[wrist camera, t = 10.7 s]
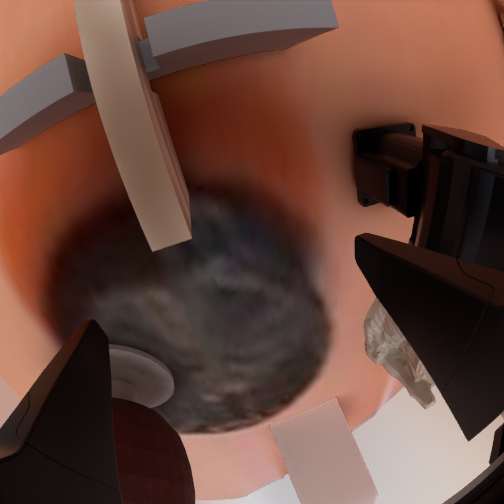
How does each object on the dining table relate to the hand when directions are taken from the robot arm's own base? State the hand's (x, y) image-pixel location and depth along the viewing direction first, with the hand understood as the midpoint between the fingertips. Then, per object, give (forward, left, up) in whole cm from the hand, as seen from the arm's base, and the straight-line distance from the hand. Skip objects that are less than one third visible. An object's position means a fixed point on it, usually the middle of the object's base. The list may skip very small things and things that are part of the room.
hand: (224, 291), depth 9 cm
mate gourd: (+15, +17, -12) cm, 26 cm away
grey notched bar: (+2, -9, -12) cm, 15 cm away
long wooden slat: (+2, -9, -12) cm, 15 cm away
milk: (-4, +44, -12) cm, 46 cm away
